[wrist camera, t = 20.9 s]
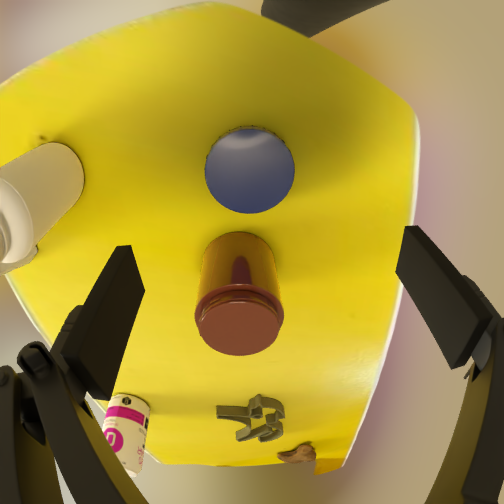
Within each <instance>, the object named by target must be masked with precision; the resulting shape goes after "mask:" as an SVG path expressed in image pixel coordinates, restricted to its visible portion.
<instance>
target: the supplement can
mask: <svg viewBox="0 0 504 504" xmlns="http://www.w3.org/2000/svg"><path fill="white" fill-rule="evenodd" d="M149 416H150V409H149V407H148V406H147V404H146V403H145V402H144V401H142V400H141V399H139V398H137V397H134V396H131V395H127V394H118V395H115V396H113V397H111V400H110V401H109V405H108V409H107V413H106V417H105V421H104V425H103V429H102V431H103V433H104V435H105V437H106V439H107V440H108V442H109V444H110V446H111V447H112V449H113V451H114V452H115V454H116V456H117V457H118V459H119V461H120V462H121V464H122V465H123V467H124V469H125V470H126V472H127V473H128V475H129V476H130V477H136V476H137V474H138V473H139V472H140V471H141V468H142V462H143V454H144V448H145V441H146V434H147V428H148V422H149Z"/></svg>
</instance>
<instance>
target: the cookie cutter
mask: <svg viewBox="0 0 504 504" xmlns="http://www.w3.org/2000/svg"><path fill="white" fill-rule="evenodd" d="M258 405H261V406H258ZM262 407H263V408H272V409H276V410H277V411H276V412H275V414H268V415H266V424H265V425H262V426H260V427H258V428H256V429H253V430H251V420H250V418H254V419H260V418H262V417H263V413H262ZM282 418H285V414H284V407H283V405H282V404H281V403H280V402H279V401H277V400H275V399H272V398H263V397H262V396H261V395H260V394H258V395H257V396H256V397H255V398H253V399H250V400H249V406H248V407H247V408H246V407H236V406H217V419H227V420H233V421H238V422H241V423H244V424H246V425H247V427H245V428H244V429H242V430H240V431H237V432H236V440H237V441H239V442H241V441H246V440H249V439H252V438H255V437H258V440H259V441H260V442H267V441H271V440H274V439H277V438H279V437H281V436H282V435H283V426H282V423H281V422H280V421H278V420H279V419H282ZM272 428H276V429H277V430H275V431H273V432H272Z"/></svg>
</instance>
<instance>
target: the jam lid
mask: <svg viewBox="0 0 504 504" xmlns="http://www.w3.org/2000/svg"><path fill="white" fill-rule="evenodd" d="M206 159H207V160H206V164H205V169H204V170H205V179H206V183H207V186H208V188H209V190H210V192H211V194H212V195H213V197H214V198H215V199H216V200H217V201H218V202H219V203H220V204H221V205H223V206H225V207H226V208H228V209H230V210H233V211H235V212H240V213H247V214H248V213H259V212H263V211H266V210H268V209H270V208H272V207H274V206H275V205H277V204H278V203H279V202H281V201H282V200H283V199H284V197H285V196H286V195H287V194H288V192H289V190H290V188H291V186H292V183H293V180H294V173H295V169H294V162H293V158H292V155H291V152H290V150H289V149H288V148H287V147H286V145H285V142H284V141H283V140H281V139H280V138H279V137H278V136H277V135H276V134H275V133H272V132H271V131H269V130H266V129H265V128H260V127H255V126H253V125H252V126H244V127H241V126H240V127H239V128H235V129H233V130H229V131H228V132H227V133H225V134H223V135H222V136H221V137H219V139H218V140H217V141H216V142H215V143H214V145H212V147H211V150H210V152H209V155H207V158H206Z"/></svg>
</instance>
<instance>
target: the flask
mask: <svg viewBox="0 0 504 504" xmlns="http://www.w3.org/2000/svg"><path fill="white" fill-rule="evenodd" d="M37 252H38V251H37V248H36V245H35V247H34V248H33V249H32V250H31V251H30V252H29V253H28V254H27V255H26V256H25V257H24V258H23V259H21V260H19V261H17V262H14V263H2V262H1V263H0V276H1V275H4V274H6V273H8V272H10V271H12V270H14V269H16V268H19V267H21V266H23V265H26V264H28V263H30V261H31V260H32V259H33V257H34V256H35V255H36V253H37Z"/></svg>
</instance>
